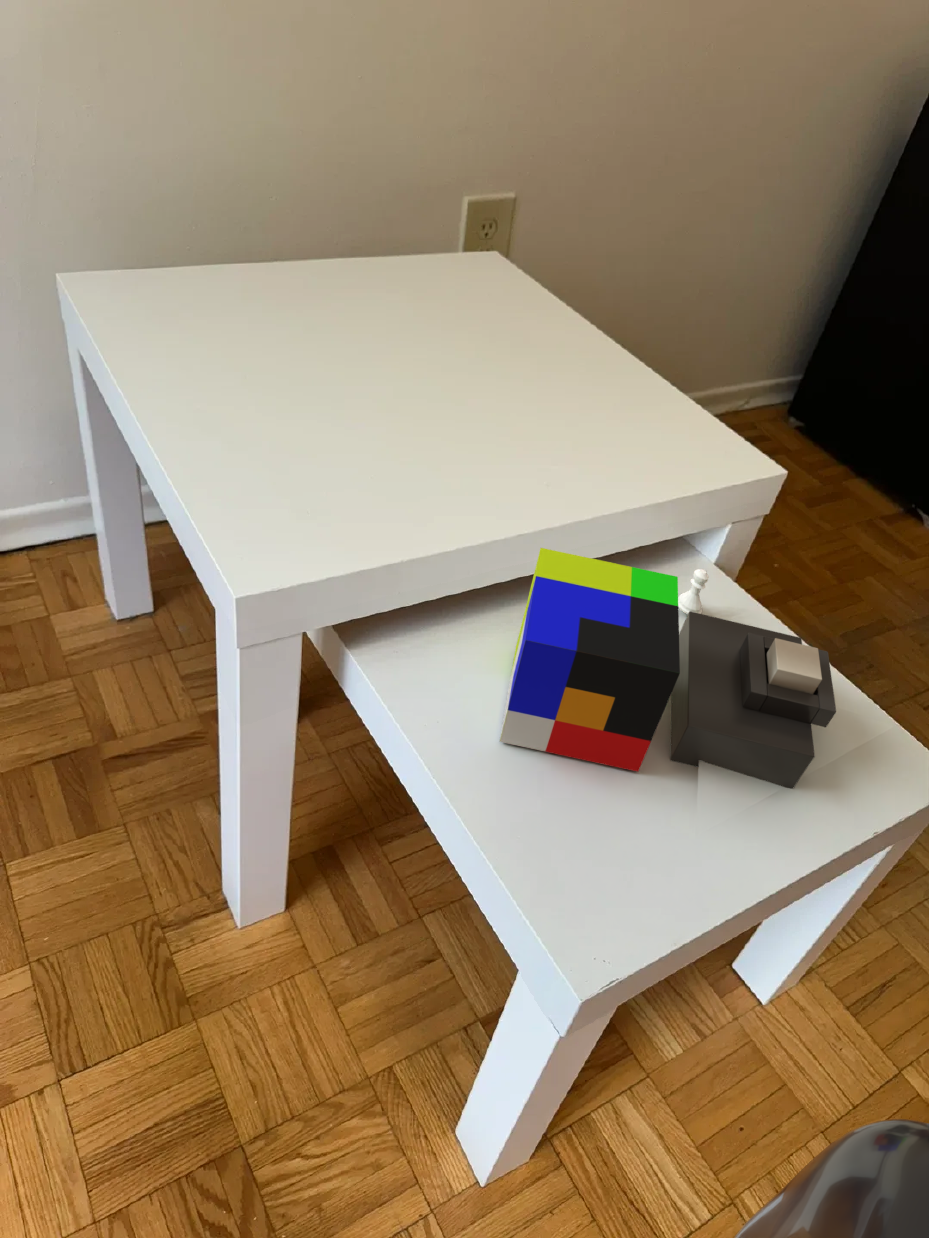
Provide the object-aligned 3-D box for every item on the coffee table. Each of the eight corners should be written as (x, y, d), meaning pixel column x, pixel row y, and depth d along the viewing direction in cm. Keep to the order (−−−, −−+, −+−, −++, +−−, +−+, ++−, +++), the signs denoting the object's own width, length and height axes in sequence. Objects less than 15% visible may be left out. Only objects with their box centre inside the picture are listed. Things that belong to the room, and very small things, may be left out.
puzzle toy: (499, 741, 66) (525, 640, 59) (515, 647, 73) (540, 547, 67) (638, 771, 66) (679, 673, 59) (640, 673, 73) (677, 576, 67)
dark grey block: (805, 795, 67) (841, 744, 63) (669, 761, 67) (696, 709, 63) (793, 676, 76) (824, 624, 72) (673, 647, 76) (696, 594, 72)
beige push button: (812, 695, 66) (822, 679, 65) (768, 685, 67) (777, 668, 65) (808, 664, 69) (818, 648, 68) (766, 653, 69) (775, 637, 68)
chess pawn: (706, 613, 80) (722, 578, 77) (689, 619, 79) (704, 583, 76) (687, 595, 81) (701, 559, 78) (670, 600, 80) (683, 564, 78)
